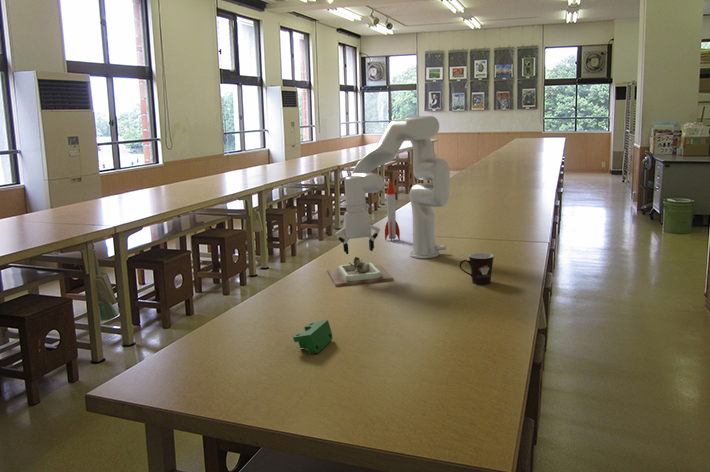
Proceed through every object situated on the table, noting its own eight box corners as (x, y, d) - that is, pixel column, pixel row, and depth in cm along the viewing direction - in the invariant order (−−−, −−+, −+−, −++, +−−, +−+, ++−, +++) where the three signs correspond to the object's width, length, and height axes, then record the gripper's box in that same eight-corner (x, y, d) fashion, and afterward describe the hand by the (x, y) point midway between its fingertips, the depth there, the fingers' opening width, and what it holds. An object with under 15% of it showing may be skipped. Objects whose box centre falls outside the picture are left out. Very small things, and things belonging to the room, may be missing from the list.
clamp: (315, 355, 158) (312, 323, 160) (334, 352, 156) (330, 320, 158) (292, 355, 148) (289, 321, 150) (311, 352, 145) (308, 317, 147)
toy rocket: (400, 240, 278) (398, 180, 272) (391, 242, 275) (389, 181, 269) (393, 238, 282) (391, 179, 276) (384, 240, 279) (382, 180, 273)
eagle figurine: (344, 271, 218) (350, 267, 210) (351, 255, 220) (357, 250, 212) (362, 280, 219) (368, 276, 211) (369, 263, 221) (375, 259, 213)
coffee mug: (494, 279, 206) (494, 253, 204) (492, 286, 198) (492, 258, 196) (462, 278, 209) (462, 252, 207) (459, 284, 201) (458, 257, 199)
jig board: (380, 267, 230) (380, 260, 229) (393, 280, 211) (393, 272, 210) (327, 272, 226) (327, 265, 225) (335, 286, 207) (335, 278, 206)
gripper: (375, 204, 218) (378, 247, 222) (332, 209, 215) (335, 252, 219) (380, 207, 211) (383, 251, 215) (335, 212, 208) (338, 256, 212)
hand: (359, 251), depth 217 cm, fingers open, 9 cm apart
